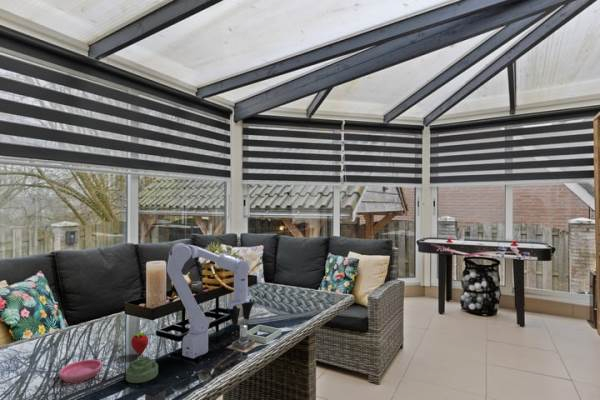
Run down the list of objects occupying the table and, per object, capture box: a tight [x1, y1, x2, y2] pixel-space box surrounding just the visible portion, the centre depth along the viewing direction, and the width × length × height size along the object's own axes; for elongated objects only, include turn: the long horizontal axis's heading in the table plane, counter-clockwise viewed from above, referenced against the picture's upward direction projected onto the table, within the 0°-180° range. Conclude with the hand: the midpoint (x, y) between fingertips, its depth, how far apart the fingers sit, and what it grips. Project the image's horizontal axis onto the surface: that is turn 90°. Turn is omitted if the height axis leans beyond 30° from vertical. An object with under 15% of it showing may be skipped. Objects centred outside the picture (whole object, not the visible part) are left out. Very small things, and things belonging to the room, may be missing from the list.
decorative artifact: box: [125, 354, 159, 384], centre depth 115 cm, size 10×7×10 cm
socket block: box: [225, 338, 262, 353], centre depth 137 cm, size 10×10×2 cm
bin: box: [247, 324, 282, 344], centre depth 147 cm, size 12×12×3 cm
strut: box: [238, 324, 249, 345], centre depth 138 cm, size 4×4×8 cm
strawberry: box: [130, 329, 149, 356], centre depth 130 cm, size 6×8×10 cm
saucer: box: [58, 359, 103, 384], centre depth 114 cm, size 12×12×3 cm
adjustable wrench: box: [227, 309, 270, 325], centre depth 175 cm, size 25×6×2 cm, turn 133°
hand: (240, 321), depth 140 cm, fingers open, 7 cm apart
